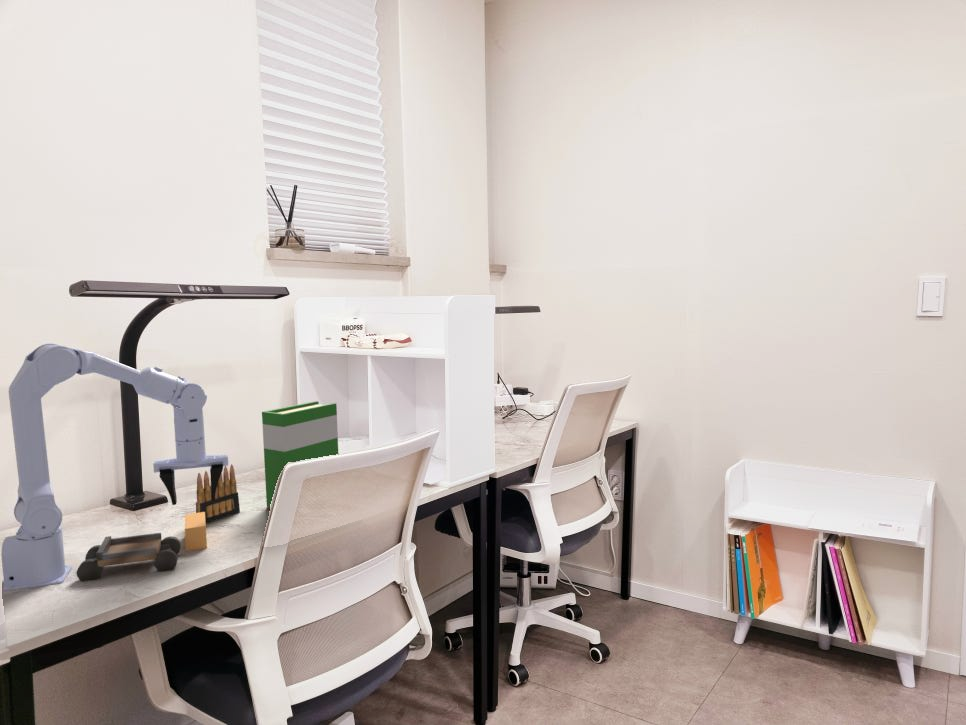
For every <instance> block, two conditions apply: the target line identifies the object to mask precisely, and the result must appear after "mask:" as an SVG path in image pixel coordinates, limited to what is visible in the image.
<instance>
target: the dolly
mask: <svg viewBox="0 0 966 725" xmlns="http://www.w3.org/2000/svg"><path fill="white" fill-rule="evenodd" d="M181 546H182V544H181V541H180V539H179V538H177V537H175V536H167V537H164V538H163V539H162V532H155V533H148V534H140V535H139V534H138V535H130V536H122V537H112V535H111V536H109V535H108V536H105V537H104V539H103V540H102V542H101V544H97V545H94V546H91V547H90V548H89V549H88V550H87V552H86V553H85V558H84V559H85V560H84V561H82V562H81V563H80V564H79V566H78V568H77V570H76V575H77V576H76V577H77V579H78V580H79V581H81V582H90V581H91V582H92V581H97V580H98V579H99V578H100V577H101V575H102V573H103V567H107V566H109V567H110V566H115V565H125V564H131V563H133V564H134V563H141V562H147V561H153V560H154V562H153V565H154V568H155V569H156V570H157V571H158V572H161V573H162V572H169V571H173V570H174V569H175V568H176V566H177V564H178V560H179V558H178V555H179V553H180V551H181V548H182V547H181Z"/></svg>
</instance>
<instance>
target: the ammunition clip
mask: <svg viewBox="0 0 966 725" xmlns="http://www.w3.org/2000/svg"><path fill="white" fill-rule="evenodd" d="M237 488H238V487H237V480H236V473H235V468H234V464H230V466H229V471H228V466H223V471H222V473H221V476H220V478H219V481H218V484H217V488H216V493H215V500H214V501H212V500H211V482H210V477H209V473H208V472H207V470H205V471H204V474H203V478H202V475H201V473H200V472H198V473H197V478H196V502H195V513H200V512H205V522H206V524H209V523H212V522H215V521H219V520H222V519H224V518H227V517H230V516H234V515H236V514H237V515H238V514H239V513H240V512H241V510H240V498H239V492H238V489H237Z"/></svg>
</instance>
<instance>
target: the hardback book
mask: <svg viewBox="0 0 966 725" xmlns="http://www.w3.org/2000/svg"><path fill="white" fill-rule="evenodd" d="M337 413H338V406H337V403H336V402H333V403H327V404H320V403H319V401H317V400H315V401H309V402H305V403H299V404H295V405H290V406H289V405H288V406H285V407H279V408H275V409H271V410H269V409H268V410H265V411H261V422H262V424H261V425H262V438H263V439H262V440H263V456H264V457H263V458H264V462H263V463H264V476H265V480H264V481H265V495H266V496H265V499H266V500H265V501H266V508H267V509H269V508H270V504H271V501H272V497H273V494H274V490H275V486H276V483H277V480H278V477H279V475H280V473H281V471H282V470H283V468H284V466H285V465H286V464H287V463H288V462H296V461H300V460H305V459H311V458H318V457H323V456H329V455H336V454H338V455H339V440H338V439H339V438H338V434H339V433H338V432H339V431H338V414H337Z"/></svg>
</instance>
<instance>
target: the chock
mask: <svg viewBox="0 0 966 725" xmlns="http://www.w3.org/2000/svg"><path fill="white" fill-rule="evenodd" d="M184 515H185V516H184V517H185V518H184V538H185V551H186V552H189V551H193V550H194V551H195V550H201V549H202V550H203V549H208V544H207V543H208V541H207V540H208V539H207V525H206V522H205V512H200V513H196V512H193V513H186V514H184Z"/></svg>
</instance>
